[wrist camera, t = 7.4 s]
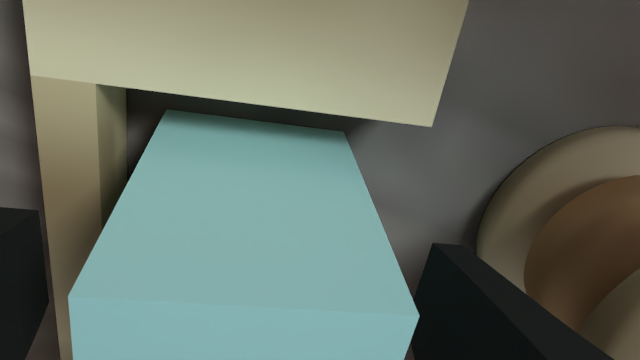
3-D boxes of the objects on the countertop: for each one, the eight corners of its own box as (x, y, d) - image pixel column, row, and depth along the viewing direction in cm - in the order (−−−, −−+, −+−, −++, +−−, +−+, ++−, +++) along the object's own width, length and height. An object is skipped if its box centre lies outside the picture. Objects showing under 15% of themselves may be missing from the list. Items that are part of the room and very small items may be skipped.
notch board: (320, 413, 16) (328, 474, 14) (96, 409, 14) (72, 476, 13) (473, -173, 8) (528, -200, 7) (52, -280, 7) (-15, -348, 5)
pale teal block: (314, 267, 13) (351, 502, 8) (161, 256, 12) (85, 507, 7) (343, 131, 11) (419, 316, 6) (166, 109, 10) (68, 296, 5)
